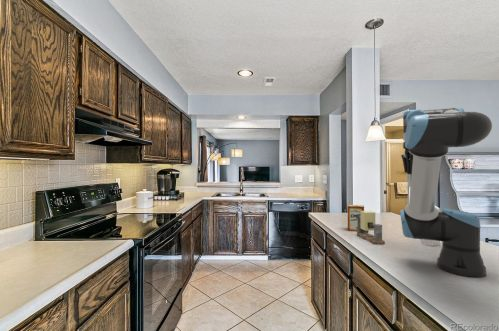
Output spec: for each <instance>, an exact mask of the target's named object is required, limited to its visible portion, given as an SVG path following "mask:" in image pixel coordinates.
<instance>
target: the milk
mask: <svg viewBox="0 0 499 331" xmlns="http://www.w3.org/2000/svg"><path fill="white" fill-rule="evenodd" d="M435 208H436V209H437V210H438V212H441V208H440V207H438V206H436V205H435ZM420 243H421V244H423V245H426V244H427V245H426V246H431V247H435V246H436V247H437V246H440V245H441V241H435V240H425V239H420Z"/></svg>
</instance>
